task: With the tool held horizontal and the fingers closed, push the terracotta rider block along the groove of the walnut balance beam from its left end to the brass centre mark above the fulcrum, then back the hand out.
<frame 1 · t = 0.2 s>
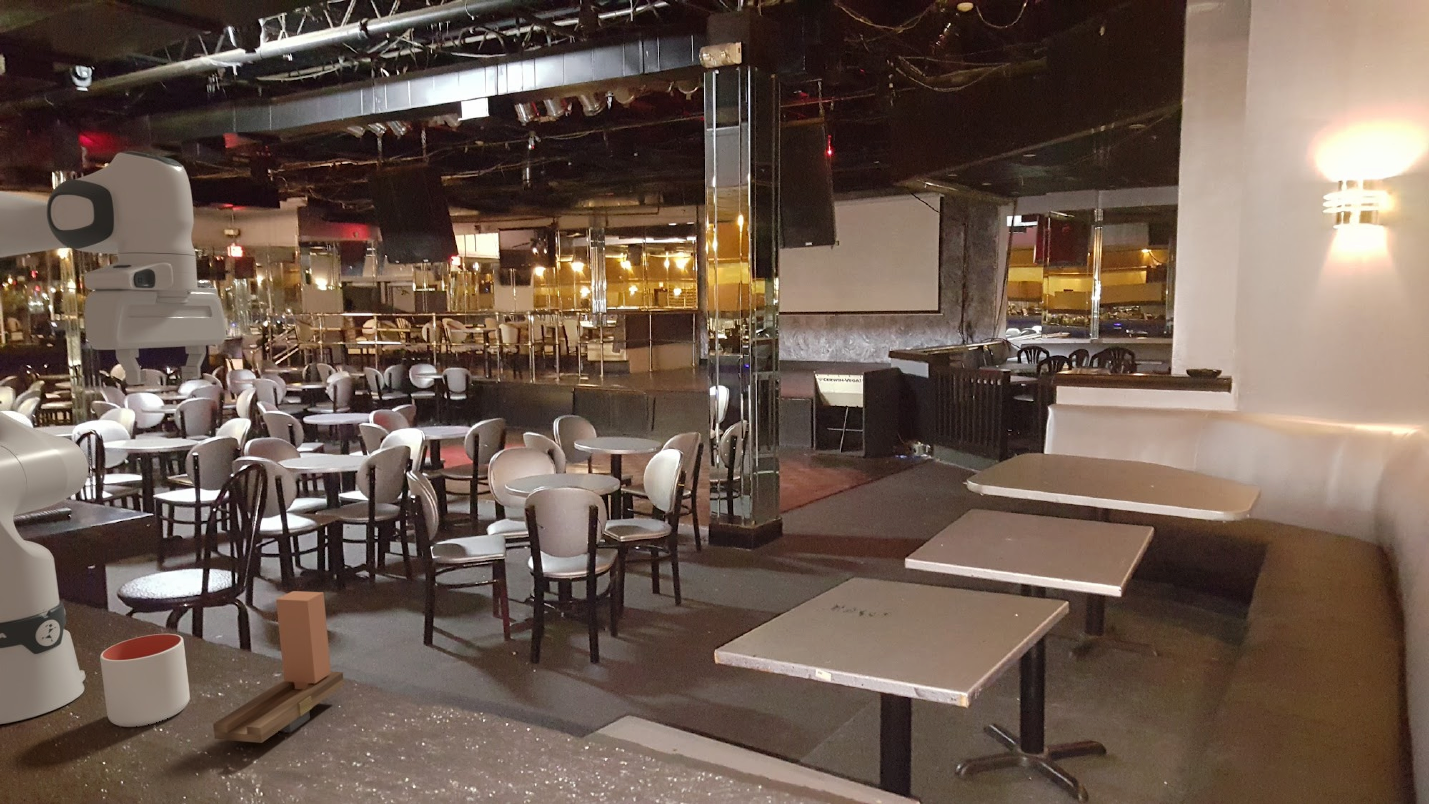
hand: (165, 381, 122), 47 cm above the countertop, tool pointing down, fingers open, 8 cm apart
rider: (304, 640, 129), point 10 cm above the countertop, slide at 5.5 cm
cup: (150, 715, 129), on the countertop
beam: (284, 724, 124), on the countertop
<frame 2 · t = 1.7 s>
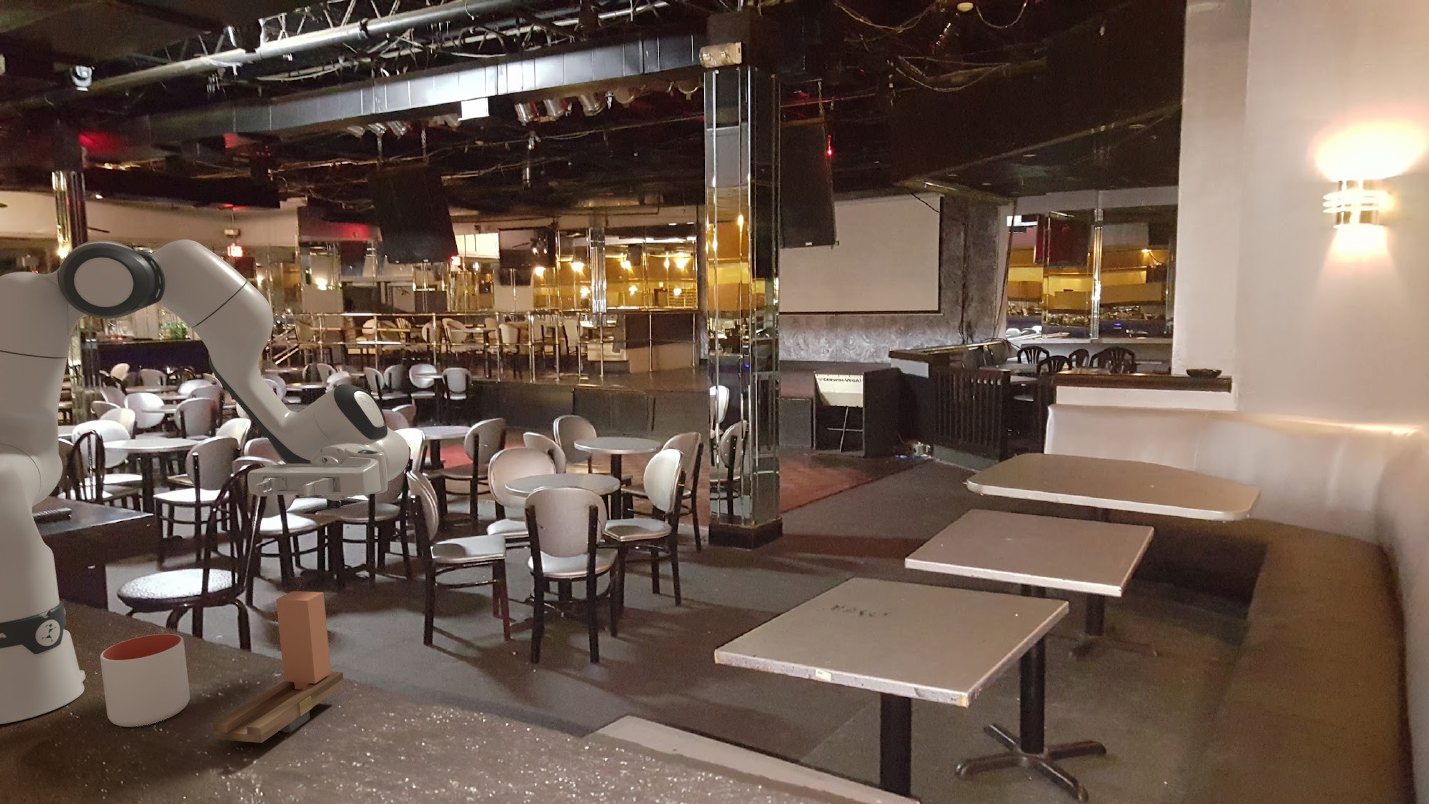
hand: (280, 491, 133), 30 cm above the countertop, tool horizontal, fingers open, 6 cm apart
nothing on the countertop moved.
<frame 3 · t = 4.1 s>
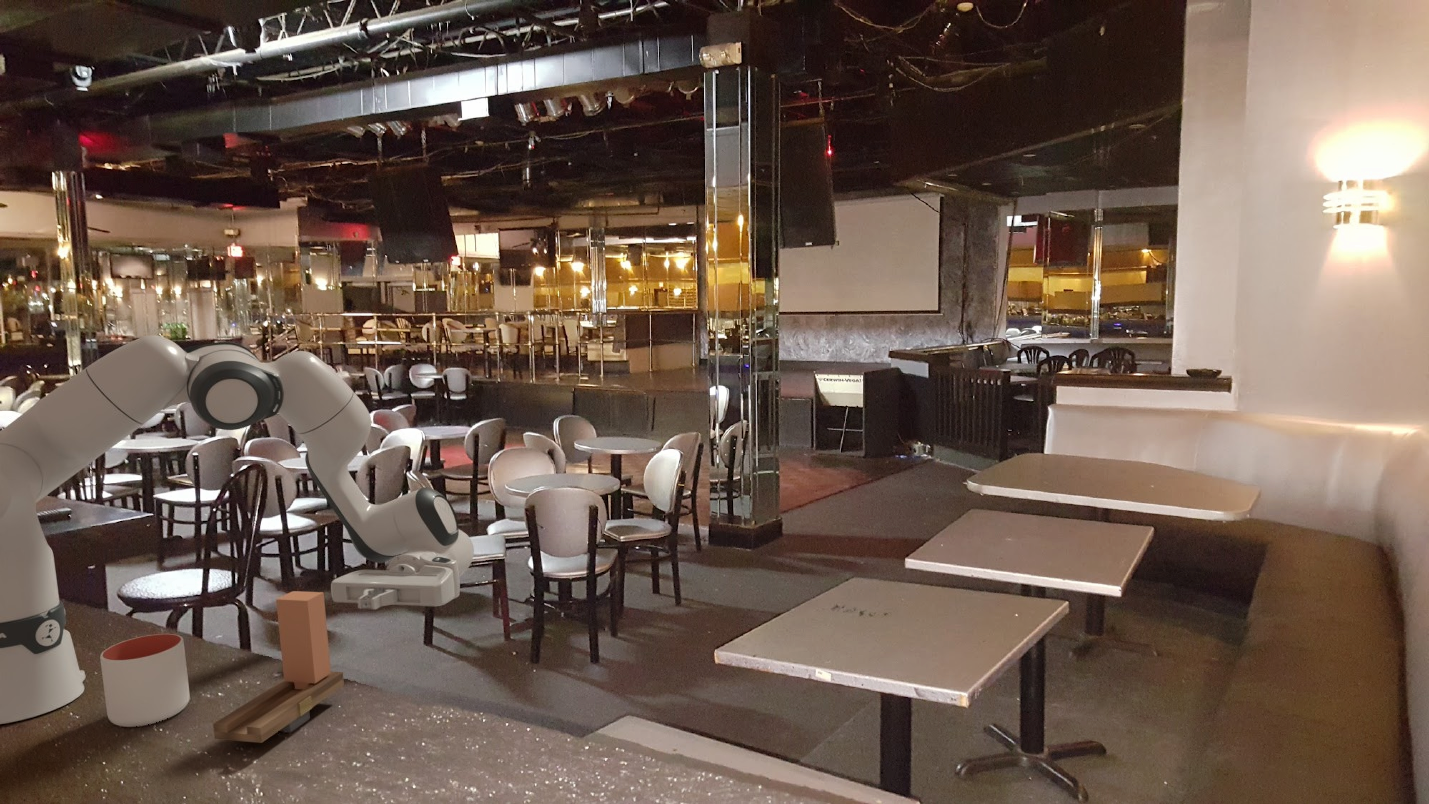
hand: (365, 604, 143), 10 cm above the countertop, tool horizontal, fingers closed
nothing on the countertop moved.
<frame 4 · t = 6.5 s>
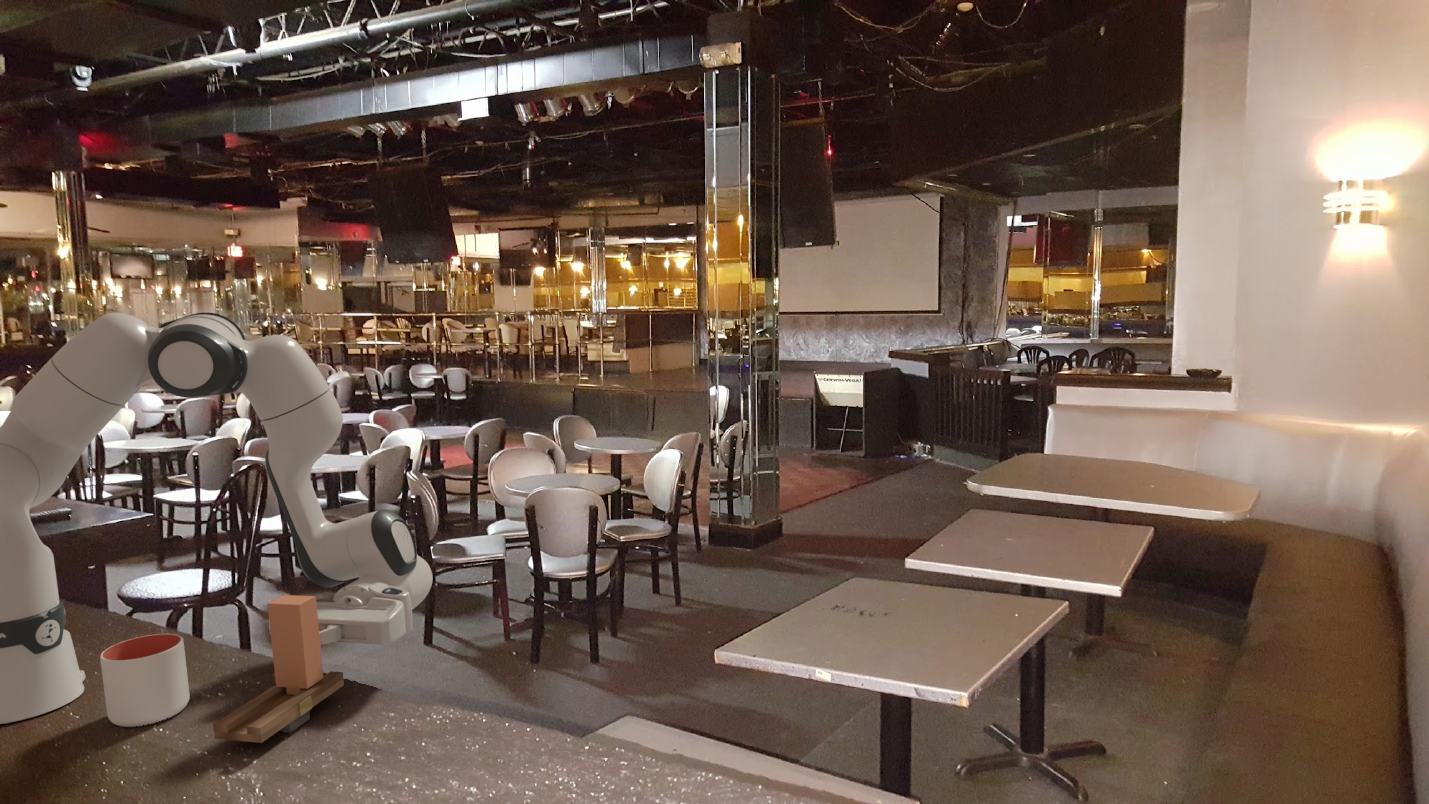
hand: (304, 643, 129), 9 cm above the countertop, tool horizontal, fingers closed, pressing on rider
rider: (296, 645, 127), point 10 cm above the countertop, slide at 3.8 cm, touching gripper
everything else where it was.
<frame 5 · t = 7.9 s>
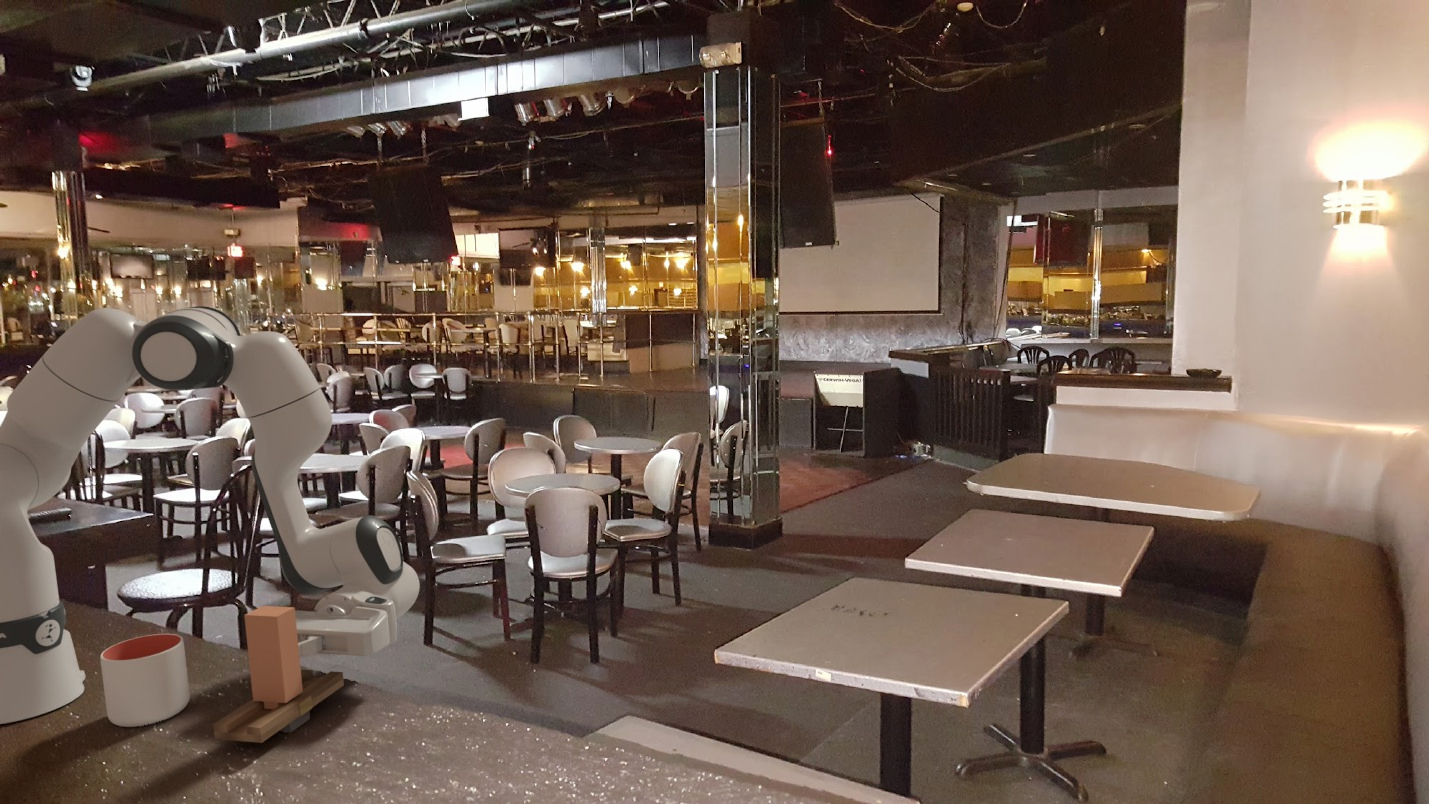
hand: (283, 654, 124), 9 cm above the countertop, tool horizontal, fingers closed, pressing on rider
rider: (274, 658, 123), point 10 cm above the countertop, slide at -0.7 cm, touching gripper
everything else where it was.
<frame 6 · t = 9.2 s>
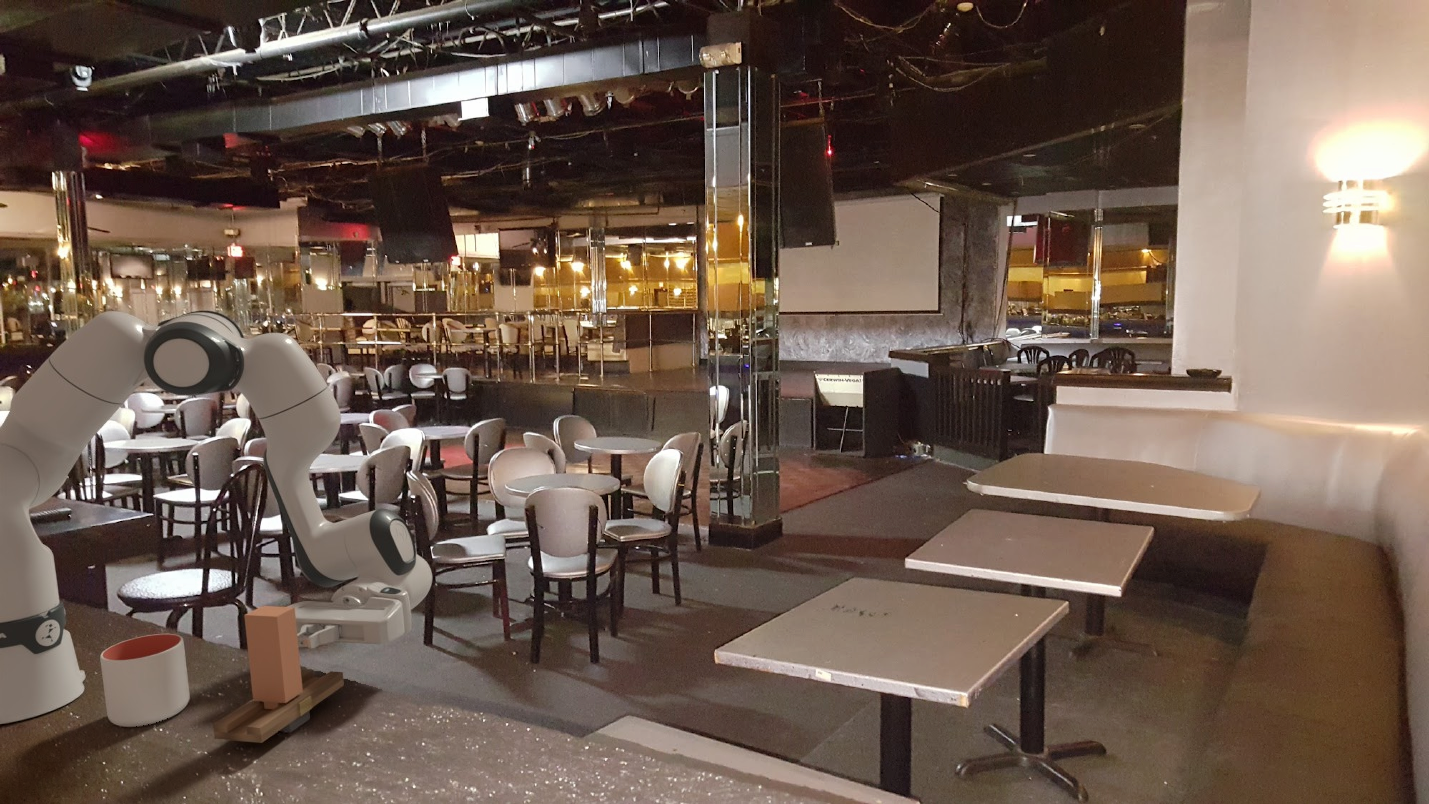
hand: (301, 643, 128), 10 cm above the countertop, tool horizontal, fingers closed
rider: (274, 658, 123), point 10 cm above the countertop, slide at -0.7 cm
everything else where it was.
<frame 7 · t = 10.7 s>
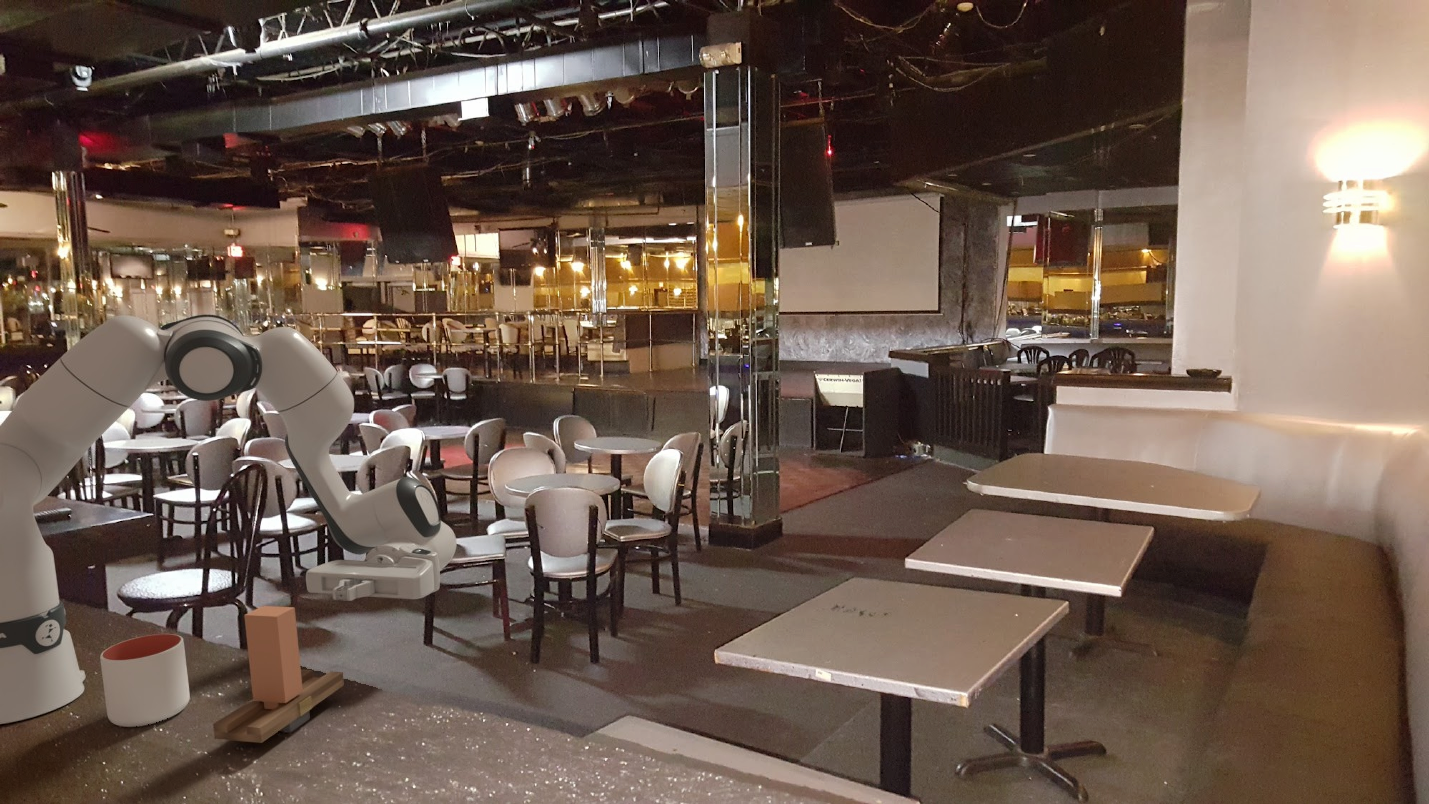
hand: (340, 595, 137), 13 cm above the countertop, tool horizontal, fingers closed
nothing on the countertop moved.
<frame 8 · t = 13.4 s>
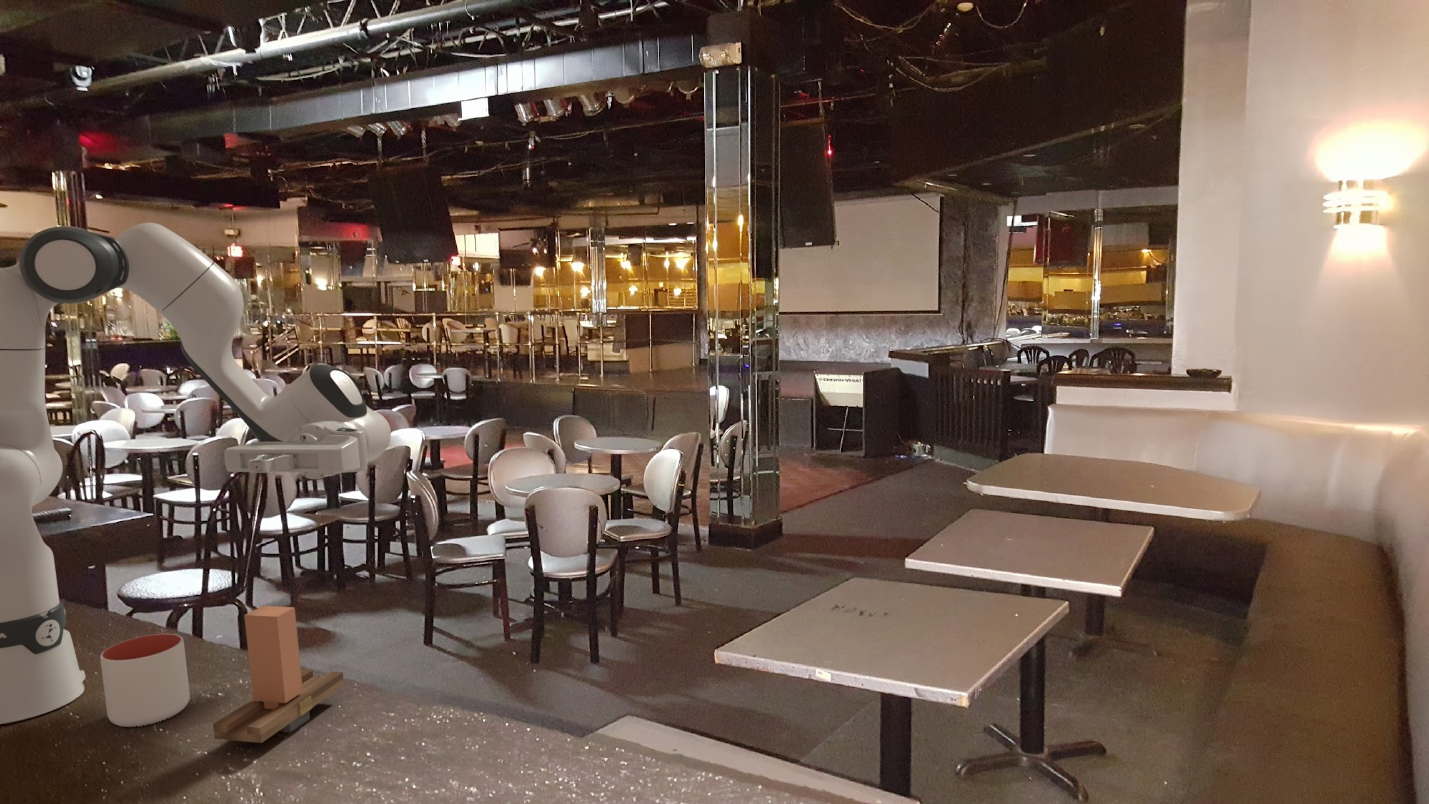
hand: (256, 467, 131), 34 cm above the countertop, tool horizontal, fingers closed
nothing on the countertop moved.
at the end: rider slide at -0.7 cm; the gripper is holding nothing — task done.
